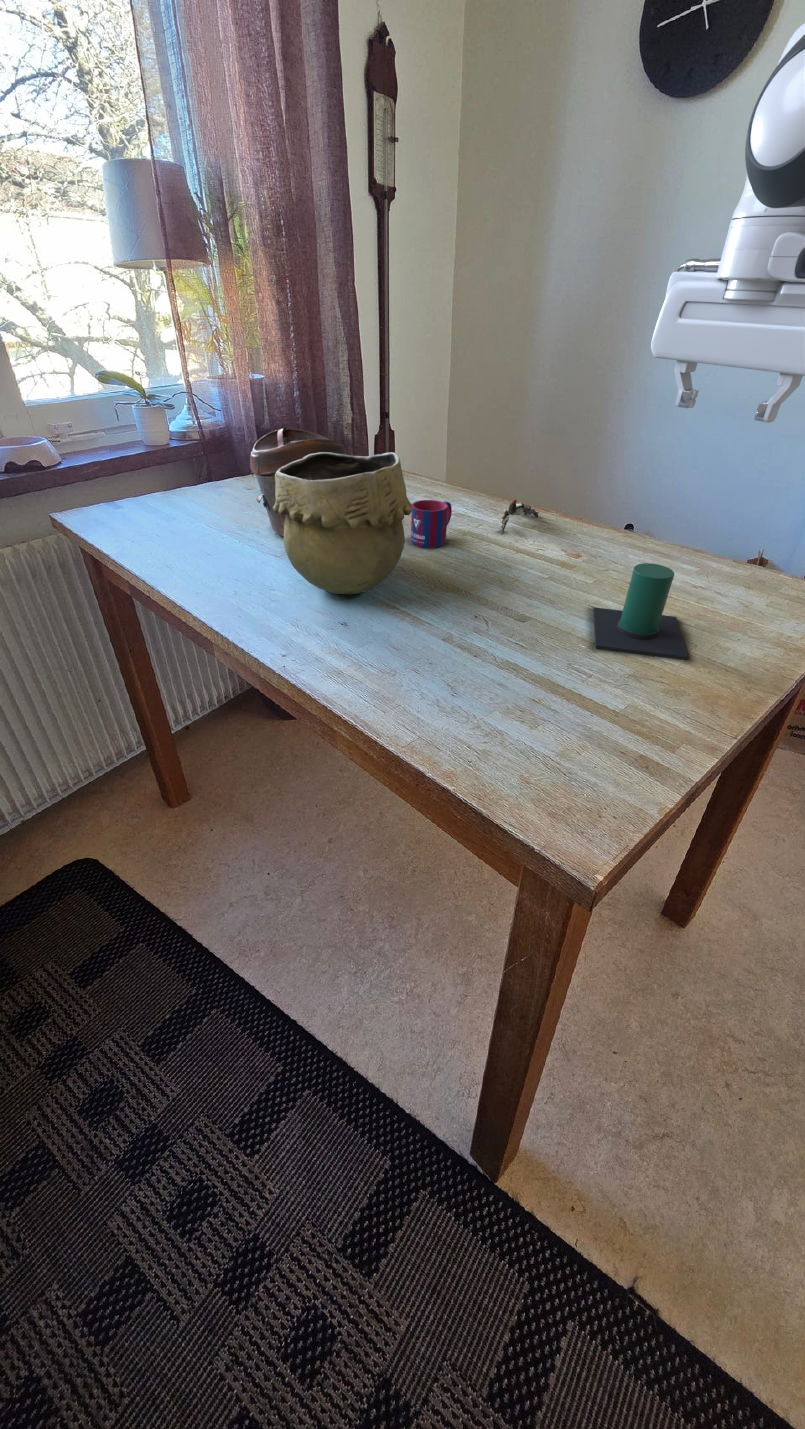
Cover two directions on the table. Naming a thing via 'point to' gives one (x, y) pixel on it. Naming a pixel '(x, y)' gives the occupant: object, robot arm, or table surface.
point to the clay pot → (343, 518)
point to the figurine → (516, 512)
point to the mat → (661, 645)
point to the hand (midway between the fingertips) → (722, 414)
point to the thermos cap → (645, 601)
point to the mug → (429, 523)
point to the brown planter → (284, 462)
